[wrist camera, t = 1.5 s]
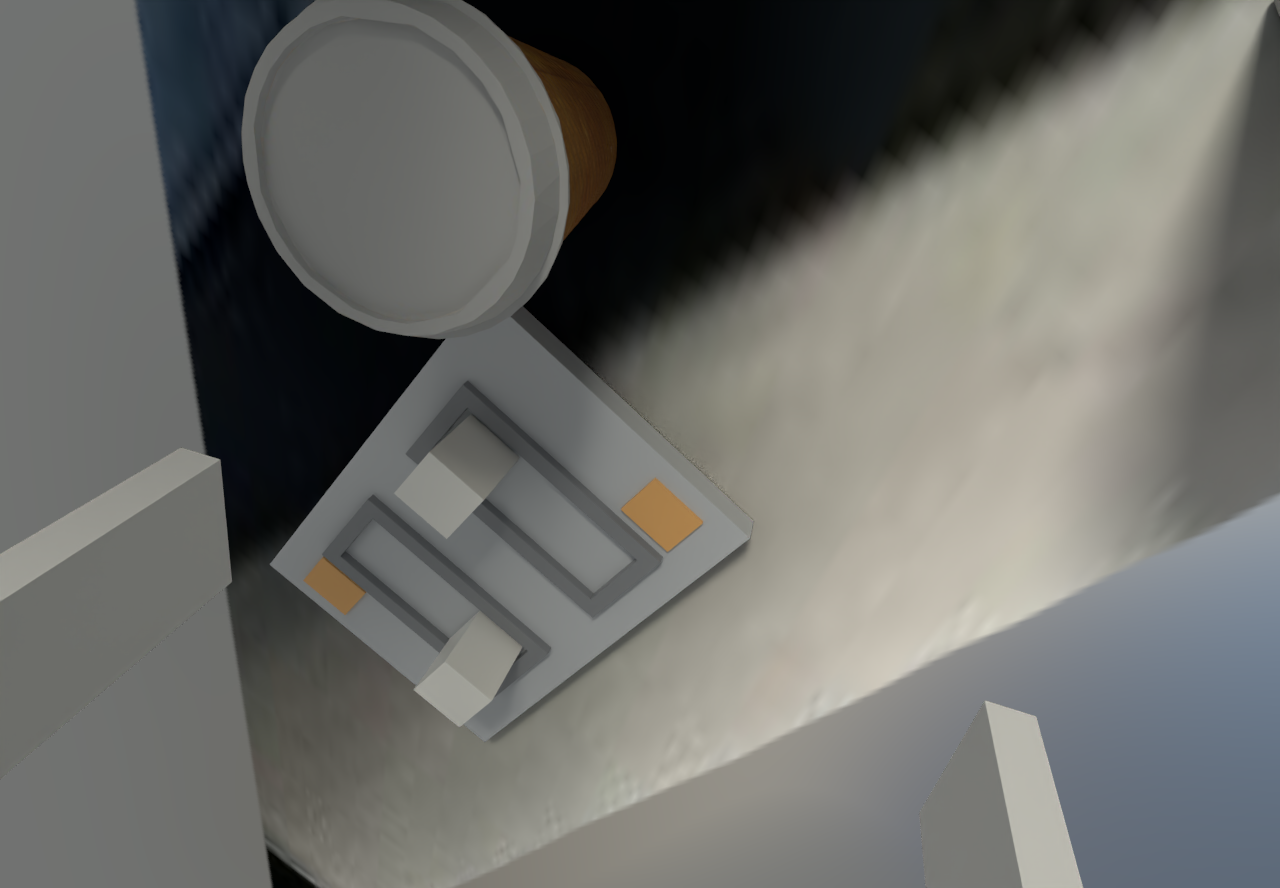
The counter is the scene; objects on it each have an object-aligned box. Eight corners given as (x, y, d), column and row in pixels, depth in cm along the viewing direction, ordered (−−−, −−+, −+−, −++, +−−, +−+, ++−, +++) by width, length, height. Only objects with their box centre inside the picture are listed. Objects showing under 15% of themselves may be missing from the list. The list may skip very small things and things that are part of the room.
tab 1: (437, 453, 37) (393, 493, 33) (471, 413, 35) (429, 451, 32) (484, 494, 37) (446, 539, 34) (520, 457, 36) (484, 499, 32)
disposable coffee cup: (476, 280, 34) (311, 374, 24) (400, 46, 31) (166, 37, 20) (681, 236, 31) (595, 322, 21) (623, -28, 28) (483, -85, 17)
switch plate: (286, 549, 44) (263, 569, 43) (497, 282, 34) (477, 294, 32) (495, 723, 47) (481, 748, 45) (753, 520, 36) (748, 544, 34)
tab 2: (450, 637, 42) (413, 689, 38) (479, 610, 40) (444, 661, 37) (491, 673, 42) (458, 727, 39) (522, 646, 41) (491, 700, 37)
